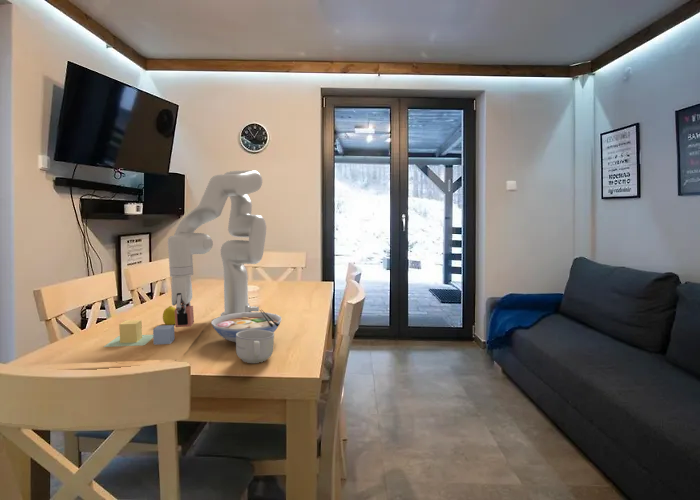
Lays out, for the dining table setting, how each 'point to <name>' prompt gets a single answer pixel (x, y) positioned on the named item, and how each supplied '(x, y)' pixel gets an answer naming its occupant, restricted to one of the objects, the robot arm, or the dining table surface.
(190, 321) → the block brick
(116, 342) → the baseplate
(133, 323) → the block ochre
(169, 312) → the lemon
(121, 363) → the dining table surface
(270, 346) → the teacup
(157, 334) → the block slate
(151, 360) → the dining table surface
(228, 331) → the ramen bowl
